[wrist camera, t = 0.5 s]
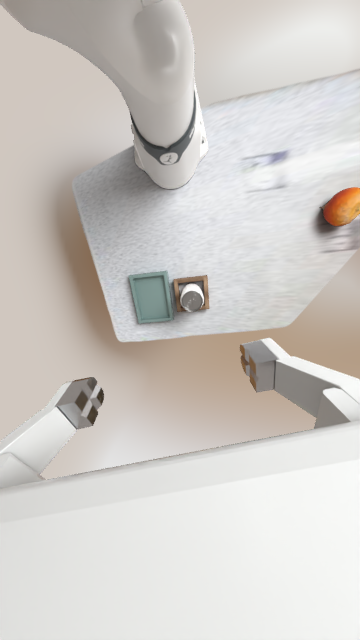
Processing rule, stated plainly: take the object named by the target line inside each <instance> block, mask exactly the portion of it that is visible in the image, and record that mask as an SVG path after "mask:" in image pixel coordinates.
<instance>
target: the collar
mask: <svg viewBox="0 0 360 640" xmlns="http://www.w3.org/2000/svg"><path fill="white" fill-rule="evenodd" d="M194 281H203V286H204V301H205V304H203V305H202V307H201V308H200V309H199V310H202V309H209V295H208V278H207V275H205V276H196V277H187V278H179V279H174V288H175V296H176V304H177V311H178V312H182V311H187V310H185V309H184V308H183V307H182V306H181V302H180V292H179V284H178V283H185V282H194Z"/></svg>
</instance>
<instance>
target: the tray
mask: <svg viewBox="0 0 360 640" xmlns="http://www.w3.org/2000/svg"><path fill="white" fill-rule="evenodd" d="M129 280H130V285H131V289H132V294H133V299H134V303H135V308H136V312H137V317H138V322H139V323H149V322H160V321H171V320H174V314H173V307H172V300H171V292H170V285H169V278H168V271H161V272H153V273H144V274H136V275H129Z"/></svg>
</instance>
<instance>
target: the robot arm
mask: <svg viewBox="0 0 360 640" xmlns="http://www.w3.org/2000/svg"><path fill="white" fill-rule="evenodd" d="M0 4H1V5H2V6H3V7H4V8H5V9H6V10H7V12H9V14H10V15H11V16H12V17H13V18H15V19H16V20H17V21H18V22H19V23H20V24H21V25H22V26H23V27H25V28H26V29H27V30H29V31H31V32H34V33H37V34H40V35H43V36H46V37H48V38H51V39H53V40H56V41H58V42H60V43H62V44H64V45H66V46H68V47H69V48H71V49H73V50H74V51H76V52H78V53H79V54H81V55H82V56H83V57H85V58H86V59H88V60H89V61H90V62H91V63H93V64H94V65H95V66H97V67H98V68H99V69H100V70H101V71H102V72H103V73H104V74H106V75H107V76H108V77H109V78H110V79H111V80H112V81H113V83H114V84H115V85H116V86H117V87H118V89H119V90H120V92H121V93H122V96H123V98H124V100H125V101H126V104H127V106H128V108H129V110H130V115H131V120H132V123H133V124H132V125H131V129H132V133H133V134H134V146H135V162H136V165H137V166H138V167H139V168H140V169H142V170H144V171H146V172H147V174H148V175H149V176H150V178H151V179H152V180H153V181H154V182H155V183H156V184H157V185H159V186H161V187H163V188H166V189H176V188H179V187H181V186H183V185H185V184H186V183H187V182H188V181H189V180H190V179H191V178H192V176H193V174H194V173H195V171H196V168H197V166H198V164H199V162H200V161H201V160H202V159H203V158H204V157H205V155H206V154H207V152H208V143H207V138H206V133H205V128H204V123H203V118H202V113H201V108H200V104H199V99H198V94H197V89H196V84H195V79H194V65H195V64H194V63H195V62H194V61H195V52H194V42H193V36H192V31H191V28H190V24H189V21H188V19H187V16H186V14H185V11H184V9H183V7H182V5H181V3H180V1H179V0H0ZM202 142H204V143H203V144H202ZM240 351H241V353H242V356H241V364H242V367H243V369H244V372H245V373H246V375H248V376H249V377H250V382H251V384H252V386H253V387H254V389H255V391H256V392H262V391H267V390H273V389H274V390H275V391H276V392H278V393H280V394H281V395H282V396H284V397H285V398H287V399H288V400H290V401H292V402H293V403H294V404H296V405H297V406H299V407H300V408H302V409H304V410H305V411H307V412H308V413H310V414H311V415H313V416H314V417H316V422H315V427H314V429H311V430H305V431H301V432H295V433H290V434H284V435H279V436H274V437H269V438H264V439H258V440H253V441H248V442H242V443H237V444H232V445H227V446H222V447H216V448H211V449H206V450H201V451H195V452H190V453H185V454H179V455H174V456H169V457H164V458H158V459H153V460H148V461H143V462H137V463H132V464H127V465H122V466H116V467H112V468H106V469H101V470H95V471H90V472H85V473H80V474H74V475H69V476H64V477H59V478H53V479H48V480H46V479H45V478H43V477H42V476H40V474H41V472H42V471H43V470H44V469H45V468H46V466H47V465H48V464H49V463H50V462H51V461H52V459H53V458H54V457H55V456H56V455H57V453H58V452H59V451H60V450H61V449H62V448H63V446H64V445H65V444H66V443H67V442H68V441H69V439H70V438H71V437H72V436H73V435H74V433H75V432H76V431H77V429H81V428H85V427H90V426H93V424H94V422H95V420H96V417H97V415H98V411H97V409H98V408H99V407H100V406H101V405H102V403H103V400H104V393H103V390H102V388H101V387H99V386H97V381H96V379H95V378H94V377H89V378H84V379H79V380H75V381H69V382H66V383H64V384H63V385H62V386H61V387H60V389H59V390H58V391H57V392H56V394H55V395H54V396H53V398H52V399H51V400H50V402H49V403H48V404H47V405H46V407H45V408H44V409H43V410H40V411H39V412H38V413H36V414H35V415H34V416H32V417H31V418H30V419H28V420H27V421H26V422H24V423H23V424H22V425H20V426H19V427H18V428H16V429H15V430H14V431H13V432H11V433H10V434H9V435H7V436H6V437H5V438H4V439H2V440H1V441H0V640H360V379H357V378H354V377H352V376H349V375H346V374H343V373H340V372H337V371H335V370H331V369H329V368H326V367H323V366H320V365H317V364H315V363H312V362H309V361H306V360H303V359H300V358H297V357H290V356H289V355H288V354H287V353H286V352H285V351H284V350H283V349H282V348H280V346H279V345H278V344H276V343H275V342H274V341H273V340H272V339H271V338H266V339H262V340H259V341H254V342H250V343H246V344H241V345H240Z"/></svg>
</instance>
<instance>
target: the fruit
mask: <svg viewBox="0 0 360 640" xmlns="http://www.w3.org/2000/svg"><path fill="white" fill-rule="evenodd" d="M320 208H323V209H324V210H323V215H324V218H325V220H326V221H327V222H329V223H330V224H331V225H334V226H342V225H346V224H349V223H350V222H351V221H352V220H353V219H355V218H356V217H357V216H358V215H359V214H360V188H357V187H354V188H348V189H345V190H342V191H340V192H338V193H337V194H336V195H334V196H333V198H332V199H331V200H330V201H329V202H328V203H327V204H326V205H324V206H323V207H320Z"/></svg>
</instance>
